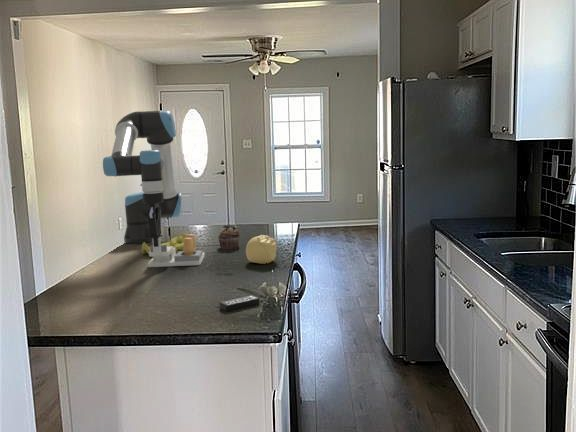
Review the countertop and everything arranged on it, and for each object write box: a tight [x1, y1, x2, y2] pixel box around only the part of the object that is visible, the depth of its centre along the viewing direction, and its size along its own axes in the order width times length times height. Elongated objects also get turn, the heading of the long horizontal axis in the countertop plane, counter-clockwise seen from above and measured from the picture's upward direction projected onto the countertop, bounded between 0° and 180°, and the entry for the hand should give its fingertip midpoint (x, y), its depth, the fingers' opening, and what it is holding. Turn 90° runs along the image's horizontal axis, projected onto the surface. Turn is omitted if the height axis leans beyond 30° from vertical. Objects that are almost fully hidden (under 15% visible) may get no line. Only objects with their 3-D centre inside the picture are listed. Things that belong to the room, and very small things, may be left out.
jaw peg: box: [183, 238, 193, 255], centre depth 220 cm, size 4×4×8 cm
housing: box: [147, 233, 206, 268], centre depth 222 cm, size 16×20×10 cm
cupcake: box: [217, 224, 241, 250], centre depth 246 cm, size 10×10×10 cm
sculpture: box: [245, 234, 278, 265], centre depth 215 cm, size 12×12×11 cm
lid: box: [148, 244, 173, 257], centre depth 217 cm, size 10×7×4 cm
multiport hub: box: [219, 294, 261, 313], centre depth 161 cm, size 4×11×2 cm, turn 124°
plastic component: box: [141, 232, 188, 258], centre depth 241 cm, size 20×7×10 cm
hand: (157, 254), depth 210 cm, fingers closed
